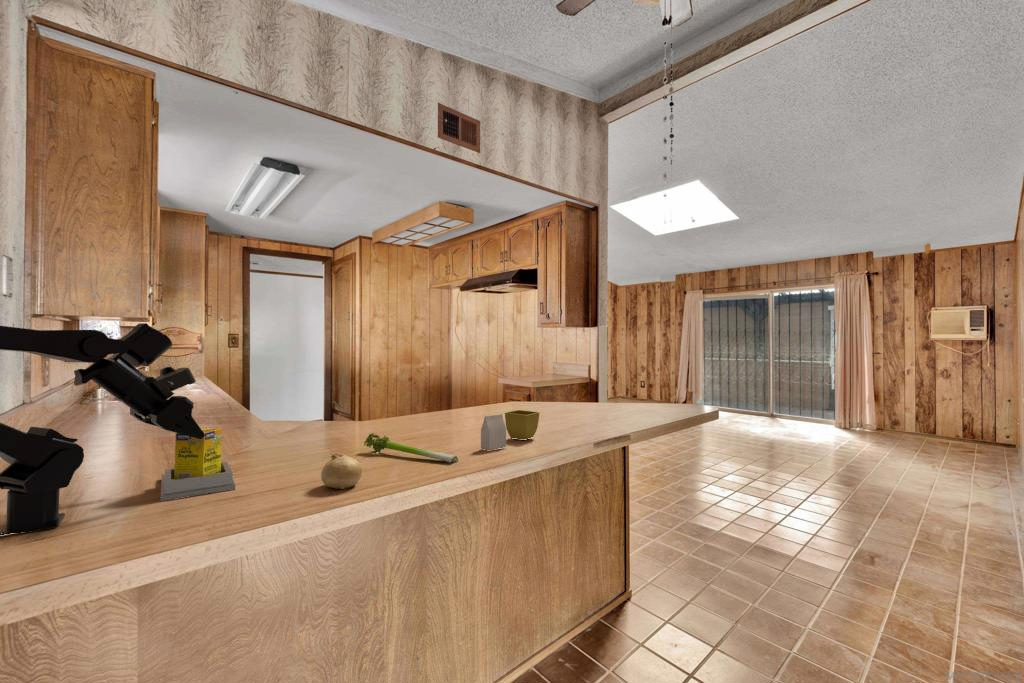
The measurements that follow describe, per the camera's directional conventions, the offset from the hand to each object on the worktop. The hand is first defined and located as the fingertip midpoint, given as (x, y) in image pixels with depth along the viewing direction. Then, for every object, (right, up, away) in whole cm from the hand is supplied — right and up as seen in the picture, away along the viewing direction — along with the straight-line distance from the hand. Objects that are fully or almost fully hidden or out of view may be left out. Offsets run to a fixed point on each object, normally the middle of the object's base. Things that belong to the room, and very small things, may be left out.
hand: (194, 434), depth 91 cm
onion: (+30, -12, +2) cm, 32 cm away
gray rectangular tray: (-2, -11, +3) cm, 12 cm away
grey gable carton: (+60, -13, +39) cm, 73 cm away
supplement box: (0, -10, 0) cm, 10 cm away
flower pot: (+69, -13, +54) cm, 89 cm away
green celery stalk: (+38, -13, +29) cm, 49 cm away
